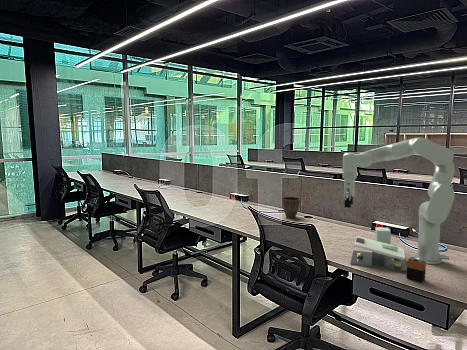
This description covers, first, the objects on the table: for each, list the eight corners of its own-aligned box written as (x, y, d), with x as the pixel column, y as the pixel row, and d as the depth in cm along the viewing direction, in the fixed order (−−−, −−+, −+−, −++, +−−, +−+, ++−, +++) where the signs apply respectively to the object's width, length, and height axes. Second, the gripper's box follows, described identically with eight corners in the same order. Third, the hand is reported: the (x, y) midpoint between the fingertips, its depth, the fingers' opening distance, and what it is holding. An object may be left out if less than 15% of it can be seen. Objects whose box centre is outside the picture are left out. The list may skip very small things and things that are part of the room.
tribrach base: (404, 258, 173) (404, 248, 173) (407, 272, 155) (407, 261, 155) (353, 251, 184) (353, 242, 184) (350, 264, 166) (350, 254, 166)
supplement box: (387, 248, 190) (388, 227, 188) (390, 252, 182) (391, 231, 181) (374, 247, 192) (375, 226, 190) (376, 251, 185) (377, 230, 183)
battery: (409, 275, 152) (410, 255, 151) (425, 280, 147) (426, 259, 146) (405, 278, 149) (406, 258, 148) (422, 283, 144) (423, 261, 143)
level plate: (402, 252, 172) (404, 244, 171) (404, 262, 157) (406, 254, 157) (355, 239, 181) (357, 232, 180) (353, 248, 167) (355, 240, 166)
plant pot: (289, 214, 277) (289, 196, 275) (303, 217, 265) (303, 198, 264) (278, 217, 267) (278, 198, 266) (291, 220, 256) (292, 200, 254)
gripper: (355, 177, 168) (354, 209, 170) (358, 174, 183) (357, 203, 185) (340, 176, 171) (339, 208, 173) (344, 173, 187) (343, 202, 189)
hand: (348, 205), depth 179 cm, fingers open, 9 cm apart
